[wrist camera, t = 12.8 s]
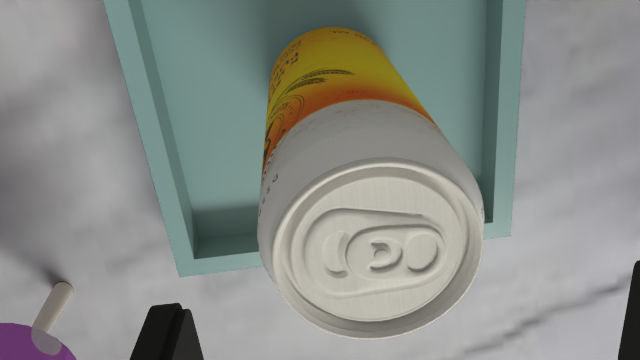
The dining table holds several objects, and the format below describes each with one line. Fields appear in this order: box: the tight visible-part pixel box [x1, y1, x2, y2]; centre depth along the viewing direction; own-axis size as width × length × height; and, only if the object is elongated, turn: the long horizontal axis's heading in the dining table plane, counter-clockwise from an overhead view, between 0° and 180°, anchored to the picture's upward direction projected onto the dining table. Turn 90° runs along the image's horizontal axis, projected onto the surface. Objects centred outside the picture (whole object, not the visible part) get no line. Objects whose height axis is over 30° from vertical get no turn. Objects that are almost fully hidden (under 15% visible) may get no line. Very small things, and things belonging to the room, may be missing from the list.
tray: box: [103, 0, 526, 277], centre depth 26 cm, size 18×18×3 cm
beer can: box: [257, 27, 484, 340], centre depth 20 cm, size 6×6×15 cm
